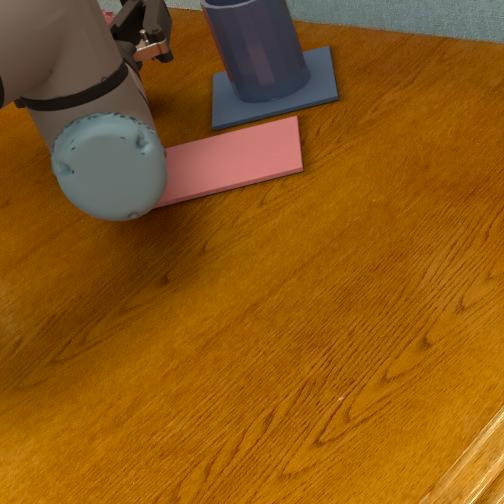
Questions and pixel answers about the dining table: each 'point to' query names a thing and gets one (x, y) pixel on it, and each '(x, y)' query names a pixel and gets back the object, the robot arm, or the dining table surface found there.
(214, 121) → the blue mat
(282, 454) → the dining table surface
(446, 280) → the dining table surface
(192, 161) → the rose mat
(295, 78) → the blue cup
